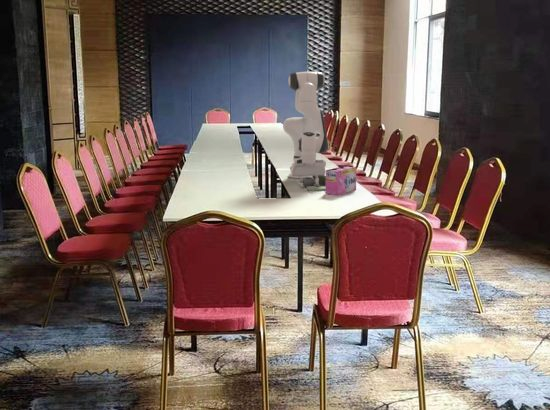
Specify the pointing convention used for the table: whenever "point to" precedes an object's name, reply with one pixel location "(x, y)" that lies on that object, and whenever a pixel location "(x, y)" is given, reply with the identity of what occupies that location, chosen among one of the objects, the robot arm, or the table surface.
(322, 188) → the post board
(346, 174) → the gum box
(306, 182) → the collar
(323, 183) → the handheld radio
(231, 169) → the table surface
